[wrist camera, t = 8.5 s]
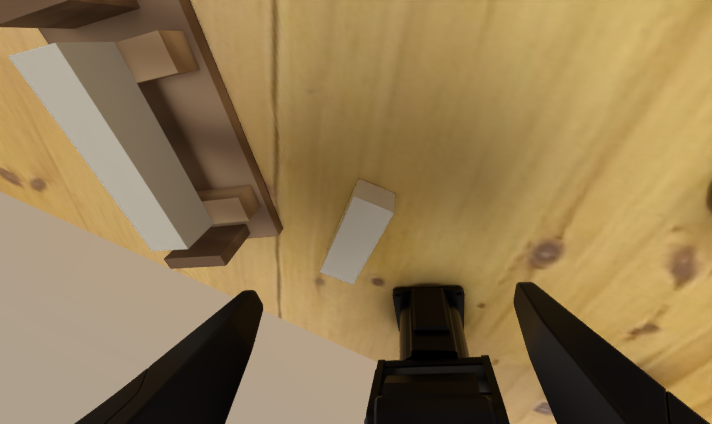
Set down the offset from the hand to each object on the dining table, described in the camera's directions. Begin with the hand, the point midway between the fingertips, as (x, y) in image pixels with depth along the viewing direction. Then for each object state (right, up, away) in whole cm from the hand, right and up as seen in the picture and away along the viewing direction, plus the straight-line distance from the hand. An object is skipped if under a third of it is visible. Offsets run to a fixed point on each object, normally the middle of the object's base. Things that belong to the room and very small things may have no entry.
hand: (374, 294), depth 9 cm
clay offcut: (-1, 0, +11) cm, 11 cm away
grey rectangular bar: (-14, +7, +9) cm, 18 cm away
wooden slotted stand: (-14, +8, +11) cm, 20 cm away
